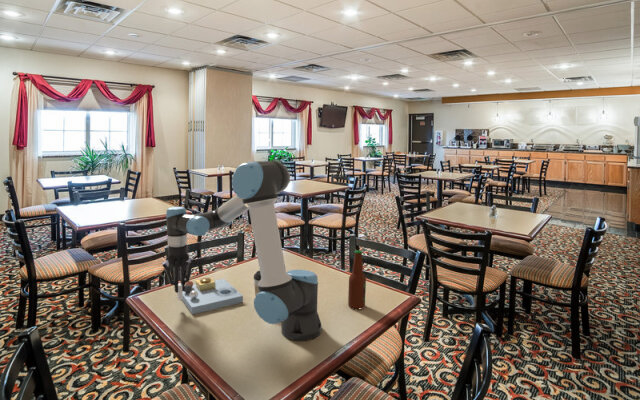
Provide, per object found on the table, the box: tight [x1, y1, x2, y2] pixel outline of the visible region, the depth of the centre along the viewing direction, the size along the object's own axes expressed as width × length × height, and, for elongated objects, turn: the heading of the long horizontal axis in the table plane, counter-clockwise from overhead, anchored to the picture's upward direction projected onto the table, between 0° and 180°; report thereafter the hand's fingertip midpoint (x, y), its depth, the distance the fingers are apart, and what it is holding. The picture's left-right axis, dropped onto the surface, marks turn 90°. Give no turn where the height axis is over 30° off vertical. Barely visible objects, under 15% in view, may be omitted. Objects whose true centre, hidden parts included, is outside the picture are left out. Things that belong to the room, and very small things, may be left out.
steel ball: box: [190, 291, 198, 299], centre depth 159 cm, size 4×4×4 cm
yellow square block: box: [195, 277, 216, 291], centre depth 171 cm, size 7×7×4 cm
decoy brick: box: [185, 280, 194, 287], centre depth 170 cm, size 4×4×4 cm
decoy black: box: [184, 285, 192, 293], centre depth 165 cm, size 4×4×4 cm
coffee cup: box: [253, 270, 261, 297], centre depth 160 cm, size 9×9×15 cm
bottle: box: [347, 249, 367, 310], centre depth 159 cm, size 7×7×25 cm
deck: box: [181, 278, 244, 315], centre depth 167 cm, size 24×22×3 cm
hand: (180, 298), depth 155 cm, fingers closed
